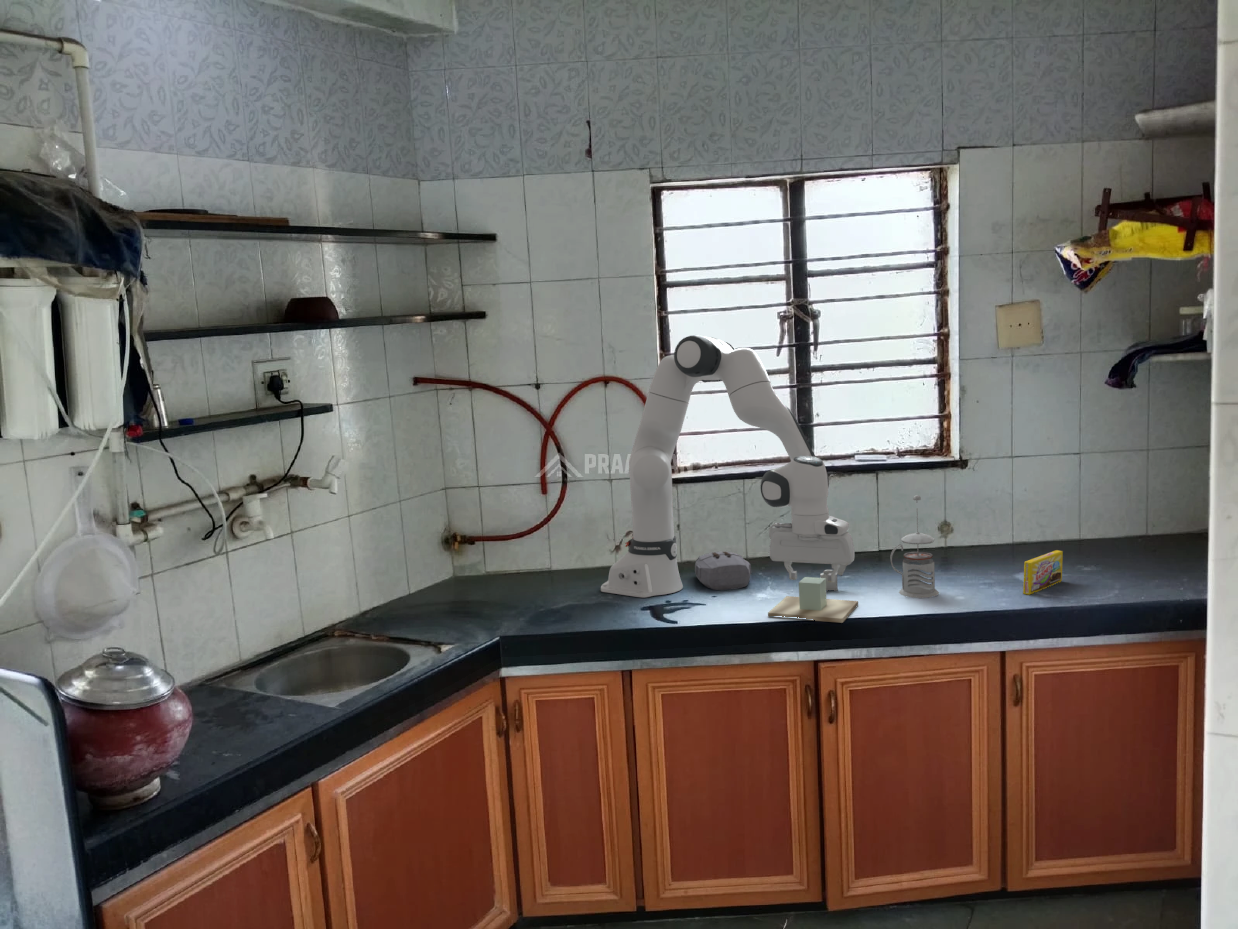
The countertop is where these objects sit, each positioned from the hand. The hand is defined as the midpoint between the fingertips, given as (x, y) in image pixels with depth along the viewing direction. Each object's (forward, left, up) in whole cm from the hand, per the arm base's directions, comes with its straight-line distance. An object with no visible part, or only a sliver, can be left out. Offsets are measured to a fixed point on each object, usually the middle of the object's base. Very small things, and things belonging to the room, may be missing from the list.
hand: (812, 580), depth 239 cm
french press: (+20, +22, -8) cm, 31 cm away
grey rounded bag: (-32, +21, -8) cm, 39 cm away
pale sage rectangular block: (0, 0, -7) cm, 7 cm away
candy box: (+49, +34, -8) cm, 60 cm away
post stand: (0, 0, -8) cm, 8 cm away
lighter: (0, +20, -8) cm, 21 cm away
